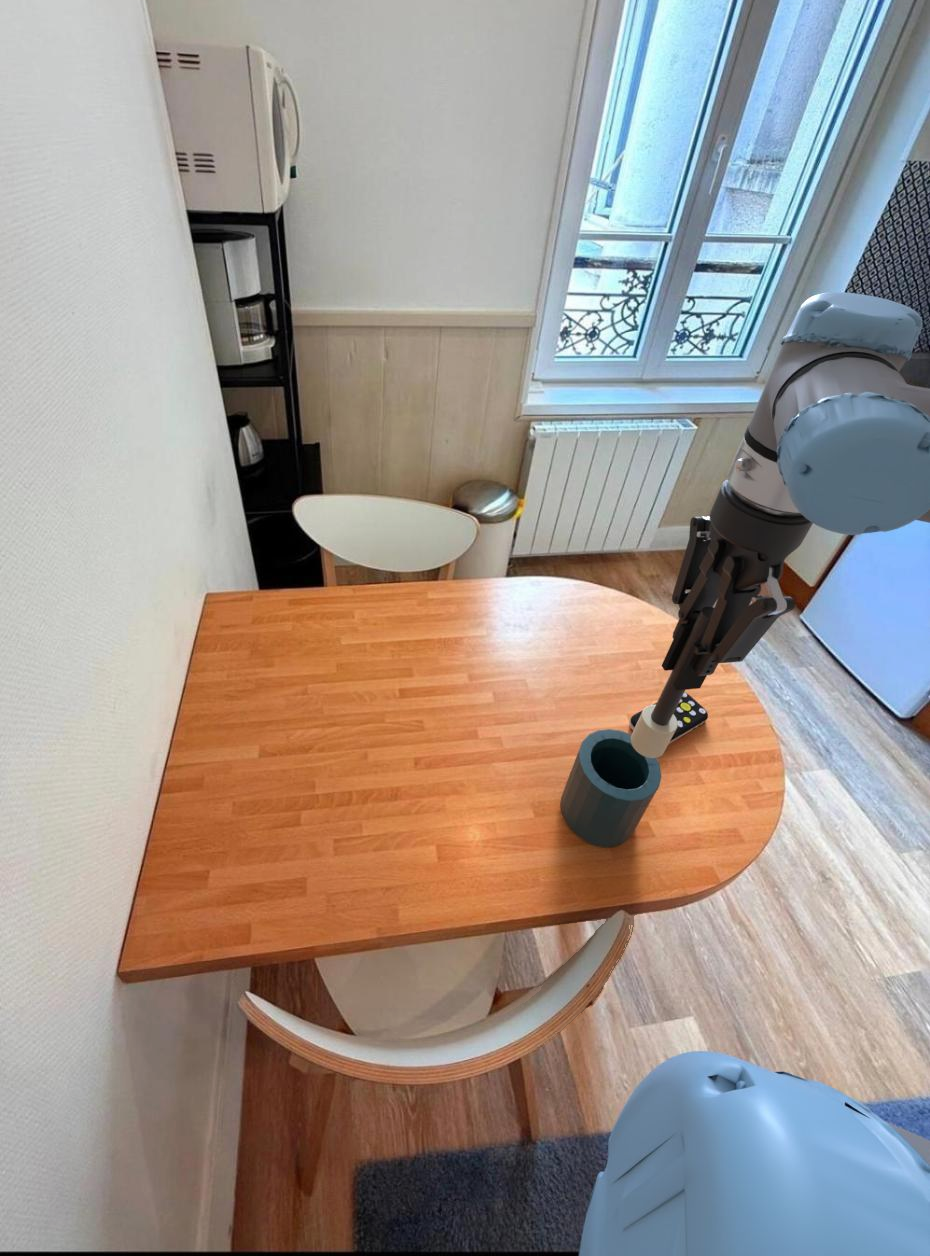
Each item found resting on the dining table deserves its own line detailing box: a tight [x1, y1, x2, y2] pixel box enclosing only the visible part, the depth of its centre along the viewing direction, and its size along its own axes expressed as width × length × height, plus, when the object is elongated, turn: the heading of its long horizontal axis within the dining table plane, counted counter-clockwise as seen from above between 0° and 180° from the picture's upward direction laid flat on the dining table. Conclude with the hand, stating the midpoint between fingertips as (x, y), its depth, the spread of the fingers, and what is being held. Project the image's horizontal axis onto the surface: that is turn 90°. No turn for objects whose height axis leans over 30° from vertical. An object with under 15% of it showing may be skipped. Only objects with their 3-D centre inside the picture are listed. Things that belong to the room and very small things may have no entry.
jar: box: [560, 728, 662, 849], centre depth 81 cm, size 10×10×12 cm
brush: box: [630, 606, 715, 759], centre depth 67 cm, size 4×4×22 cm
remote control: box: [629, 691, 709, 745], centre depth 97 cm, size 6×13×2 cm, turn 120°
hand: (680, 676), depth 66 cm, fingers closed on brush, 2 cm apart
